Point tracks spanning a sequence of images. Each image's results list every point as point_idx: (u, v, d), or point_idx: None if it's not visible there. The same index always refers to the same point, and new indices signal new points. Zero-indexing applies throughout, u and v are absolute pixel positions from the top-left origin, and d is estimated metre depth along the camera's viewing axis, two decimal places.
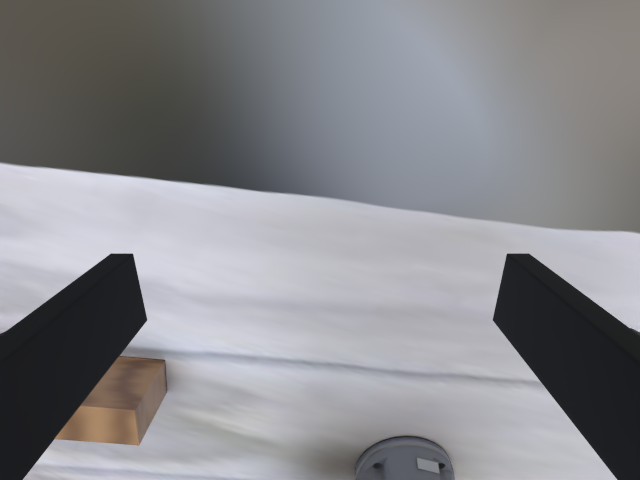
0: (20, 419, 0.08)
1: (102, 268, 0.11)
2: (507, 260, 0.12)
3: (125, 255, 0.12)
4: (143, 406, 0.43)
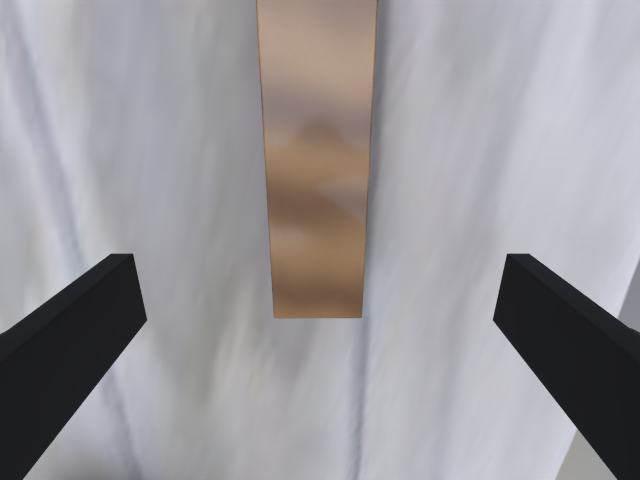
0: (20, 419, 0.08)
1: (102, 269, 0.11)
2: (507, 260, 0.12)
3: (125, 255, 0.12)
4: None
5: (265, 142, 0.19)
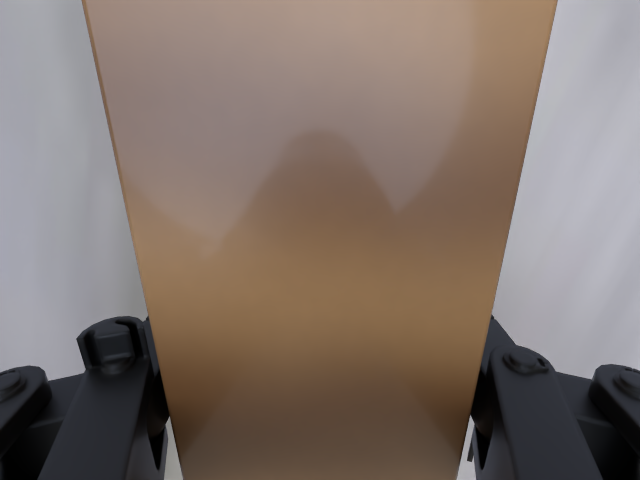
0: None
1: None
2: None
3: None
4: None
5: (136, 240, 0.05)
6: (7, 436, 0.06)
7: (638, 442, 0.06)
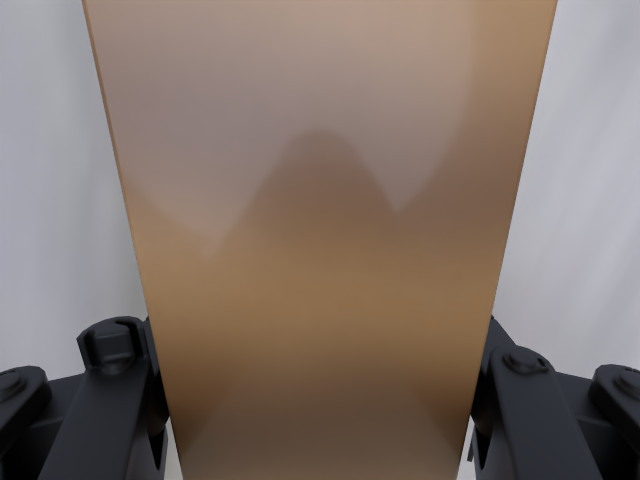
0: None
1: None
2: None
3: None
4: None
5: (136, 240, 0.05)
6: (7, 436, 0.06)
7: (638, 442, 0.06)
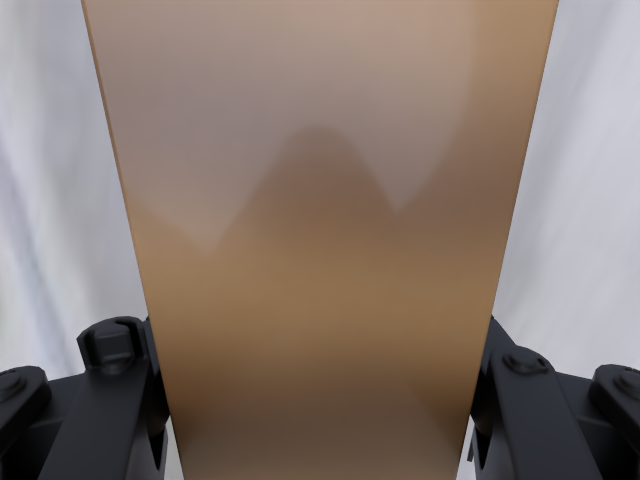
0: None
1: None
2: None
3: None
4: None
5: (136, 240, 0.05)
6: (7, 436, 0.06)
7: (638, 442, 0.06)
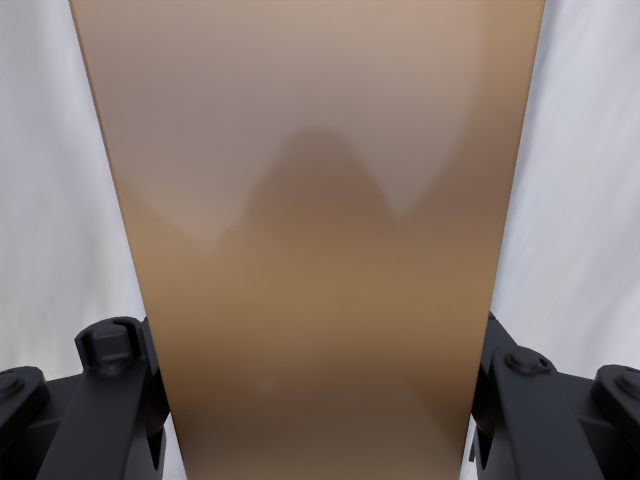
0: None
1: None
2: None
3: None
4: None
5: (131, 239, 0.05)
6: (4, 437, 0.06)
7: None
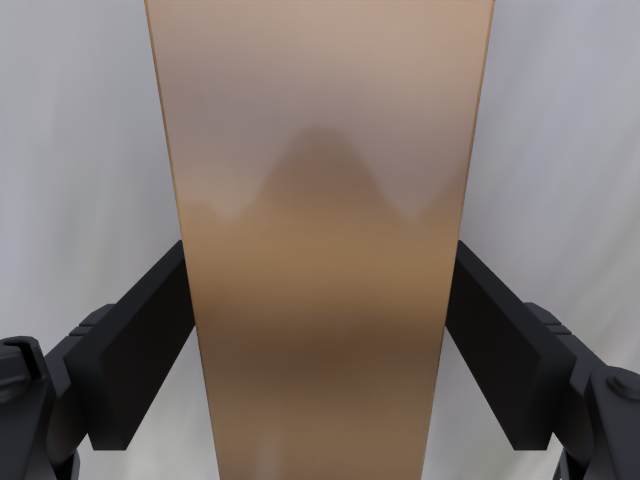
0: (136, 376, 0.09)
1: (177, 252, 0.12)
2: None
3: None
4: None
5: (180, 208, 0.07)
6: None
7: None
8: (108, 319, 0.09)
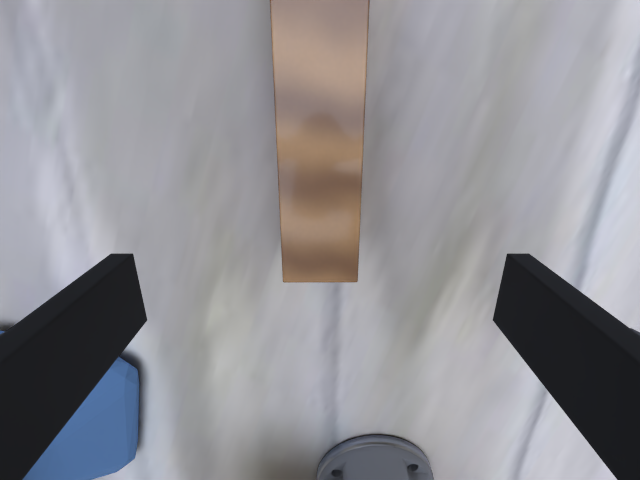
0: (20, 419, 0.08)
1: (102, 269, 0.11)
2: (507, 260, 0.12)
3: (125, 255, 0.12)
4: None
5: (277, 132, 0.23)
6: None
7: None
8: None
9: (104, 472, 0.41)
